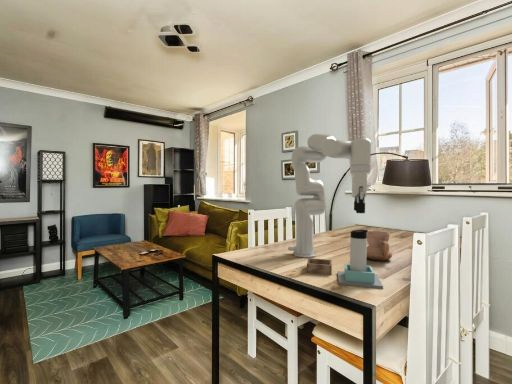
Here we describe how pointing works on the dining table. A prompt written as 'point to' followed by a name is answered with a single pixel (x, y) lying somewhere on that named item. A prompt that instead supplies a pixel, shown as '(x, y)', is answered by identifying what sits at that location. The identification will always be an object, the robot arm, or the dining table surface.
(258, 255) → the dining table surface
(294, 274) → the dining table surface
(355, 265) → the travel mug
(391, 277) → the dining table surface
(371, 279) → the dock
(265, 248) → the dining table surface
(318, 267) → the frame
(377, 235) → the ceramic jug
